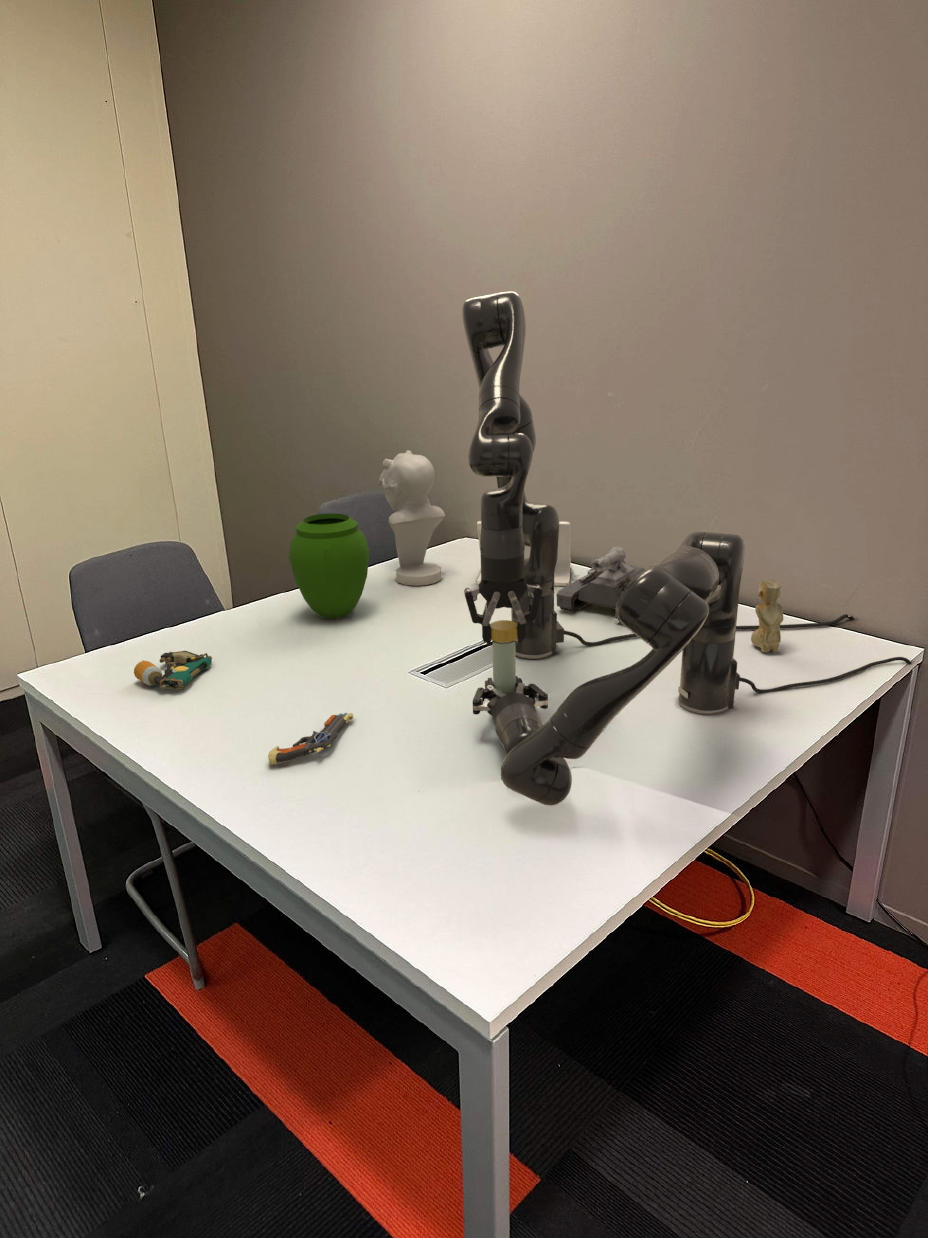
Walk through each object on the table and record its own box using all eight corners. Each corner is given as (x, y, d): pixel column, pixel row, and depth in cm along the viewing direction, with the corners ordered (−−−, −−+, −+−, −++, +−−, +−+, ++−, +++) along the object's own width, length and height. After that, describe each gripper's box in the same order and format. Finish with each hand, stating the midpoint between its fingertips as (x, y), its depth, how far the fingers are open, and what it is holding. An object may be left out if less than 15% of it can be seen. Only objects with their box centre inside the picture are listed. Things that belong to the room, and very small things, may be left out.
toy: (603, 584, 229) (605, 530, 224) (673, 597, 218) (677, 540, 213) (555, 612, 210) (556, 553, 205) (630, 627, 199) (633, 566, 194)
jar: (512, 713, 160) (511, 623, 154) (519, 723, 157) (518, 631, 150) (491, 716, 159) (489, 626, 153) (497, 726, 156) (495, 634, 149)
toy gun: (262, 754, 143) (318, 752, 141) (303, 710, 161) (353, 708, 159) (266, 769, 144) (321, 767, 142) (306, 724, 162) (356, 721, 160)
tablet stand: (569, 585, 229) (570, 524, 223) (476, 584, 232) (475, 523, 226) (570, 566, 246) (571, 508, 240) (484, 564, 249) (483, 507, 243)
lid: (504, 645, 149) (504, 632, 148) (483, 637, 152) (483, 625, 151) (524, 636, 152) (523, 624, 151) (503, 629, 156) (503, 617, 155)
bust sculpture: (418, 559, 256) (413, 441, 244) (456, 580, 236) (452, 453, 224) (369, 568, 249) (360, 447, 237) (403, 590, 229) (396, 460, 217)
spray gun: (177, 659, 191) (231, 671, 185) (120, 684, 176) (176, 698, 171) (176, 641, 190) (230, 653, 184) (118, 665, 175) (174, 678, 169)
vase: (389, 608, 216) (383, 514, 208) (339, 633, 201) (330, 533, 192) (330, 596, 226) (322, 506, 218) (278, 619, 211) (267, 523, 202)
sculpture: (772, 641, 189) (778, 577, 184) (784, 654, 182) (792, 587, 177) (746, 642, 189) (752, 578, 183) (758, 655, 182) (764, 588, 177)
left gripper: (540, 543, 150) (540, 632, 156) (459, 547, 150) (462, 637, 156) (547, 555, 143) (546, 648, 149) (462, 559, 143) (465, 653, 149)
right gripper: (560, 700, 142) (539, 659, 158) (474, 707, 140) (463, 665, 156) (559, 740, 144) (539, 696, 160) (476, 747, 143) (464, 702, 159)
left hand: (503, 642), depth 152 cm, fingers closed on lid, 5 cm apart
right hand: (502, 681), depth 158 cm, fingers closed on jar, 4 cm apart
